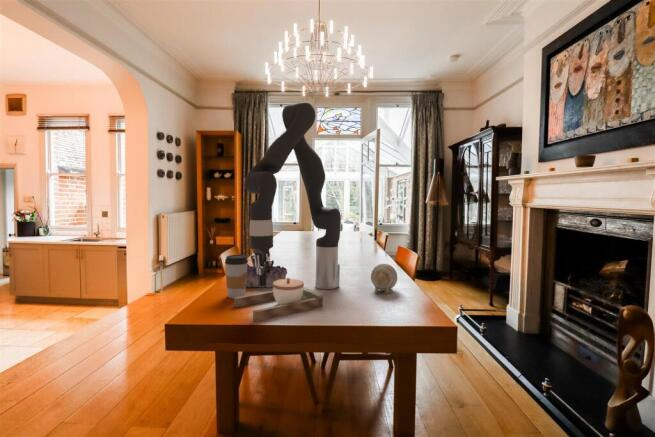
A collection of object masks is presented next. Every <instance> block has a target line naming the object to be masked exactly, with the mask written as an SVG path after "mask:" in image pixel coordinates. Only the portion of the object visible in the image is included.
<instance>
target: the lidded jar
mask: <svg viewBox="0 0 655 437" xmlns="http://www.w3.org/2000/svg"><path fill="white" fill-rule="evenodd" d="M304 285H305V283H304V281H303V280H301V279H295V278H291V277H286V279H282V280H277V281H274V282H273V287H272V291H273V294H274V298H275V300H274V301H275V302H276V303H277V304H278V305H283V304H287V303H292V302H297V301H302V299H301V298H302V295H303V287H305V286H304Z"/></svg>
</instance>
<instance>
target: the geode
mask: <svg viewBox="0 0 655 437" xmlns="http://www.w3.org/2000/svg"><path fill="white" fill-rule="evenodd" d="M287 274H288V269H287V268H286V267H284V266H281V265H276V266H274V265H273V266H272V269H271V271H270V273H269V274H266V286H262V287H261V286H259V285H258V274H257V271H255V270H254V267H253V265H252V266H251V265H249V263H247V280H246V289H248V288H267V289H268V288H273V282H274V281H277V280H282V279H287Z"/></svg>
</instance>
